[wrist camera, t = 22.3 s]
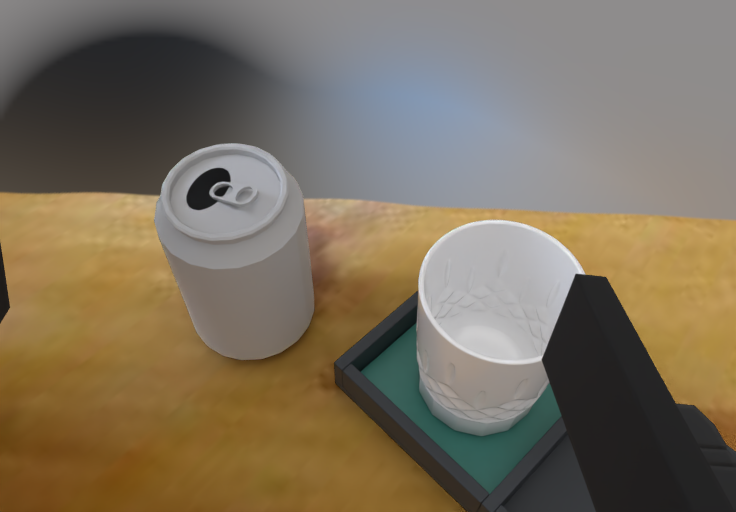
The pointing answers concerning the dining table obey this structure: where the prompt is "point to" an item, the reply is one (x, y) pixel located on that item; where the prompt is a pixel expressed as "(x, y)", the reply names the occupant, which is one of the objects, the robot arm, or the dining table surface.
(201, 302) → the can
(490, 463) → the divided tray
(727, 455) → the robot arm
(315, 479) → the dining table surface
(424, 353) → the white cup
